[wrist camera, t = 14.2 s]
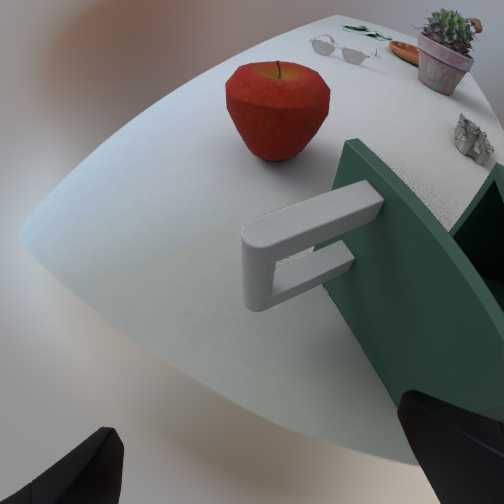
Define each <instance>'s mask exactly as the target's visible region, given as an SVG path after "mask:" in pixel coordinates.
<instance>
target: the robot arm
mask: <svg viewBox="0 0 504 504" xmlns="http://www.w3.org/2000/svg"><path fill="white" fill-rule="evenodd" d="M397 415H398V418H399V420H400V423H401V425H402V427H403V430H404V432H405V435H406V437H407V440H408V442H409V445H410V447H411V449H412V451H413V453H414V455H415V457H416V459H417V461H418V462H419V464H420V466H421V468H422V470H423V471H424V473H425V475H426V477H427V479H428V481H429V482H430V484H431V486H432V488H433V490H434V492H435V494H436V496H437V497H438V499H439V501H440V503H441V504H504V423H503V422H500V421H497V420H494V419H491V418H488V417H485V416H483V415H480V414H477V413H474V412H471V411H469V410H466V409H463V408H461V407H458V406H455V405H453V404H450V403H448V402H445V401H443V400H440V399H438V398H435V397H433V396H430V395H428V394H425V393H423V392H420V391H418V390H415V389H412V390H409V391H406V392H404V393H403V394H402V395H401V399H400V402H399V406H398V409H397ZM123 457H124V446H123V443H122V441H121V439H120V437H119V436H118V434H117V432H116V430H115V429H114V428H110V427H101V428H99V429H98V430H97V431H96V432H95V433H93V434H92V435H91V436H89V437H88V438H87V439H86V440H84V441H83V442H82V443H81V444H80V445H78V446H77V447H76V448H75V449H73V450H72V451H71V452H69V453H68V454H67V455H66V456H64V457H63V458H62V459H60V460H59V461H58V462H56V463H55V464H54V465H53V466H51V467H50V468H49V469H47V470H46V471H45V472H43V473H42V474H41V475H39V476H38V477H37V478H36V479H34V480H33V481H32V482H31V483H29V484H27V485H26V486H24V487H23V488H22V489H20V490H19V491H17V492H16V493H15V494H13V495H11V496H9V497H8V498H6V499H4V500H2V501H1V502H0V504H118V503H119V497H120V492H121V484H122V470H123Z"/></svg>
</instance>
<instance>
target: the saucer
mask: <svg viewBox="0 0 504 504" xmlns="http://www.w3.org/2000/svg"><path fill="white" fill-rule="evenodd" d="M389 48H390V49H392V50H393V52H394V53H395V54H396V55H398V56H399V57H401V58H402V59H404V60H406V61H408V62H410V63H412V64H415V65H417V66H419V48H418V47H415V46H413V45H409V44H406V43H402V42H398V41H390V43H389Z"/></svg>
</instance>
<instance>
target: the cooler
mask: <svg viewBox="0 0 504 504" xmlns="http://www.w3.org/2000/svg"><path fill="white" fill-rule="evenodd" d="M449 234H450V236H451V237H452V238H453V239H454V241H455V242H456V243H457V245H458V246H459V247H460V249H461V250H462V251H463V253H464V254H465V255H466V257H467V258H468V259H469V261H470V262H471V264H472V265H473V266H474V268H475V269H476V271H477V272H478V274H479V275H480V277H481V278H482V280H483V281H484V283H485V284H486V286H487V287H488V289H489V290H490V292H491V294H492V295H493V297H494V298H495V300H496V302H497V303H498V305H499V307H500V308H501V310H502V312H503V314H504V166H502V165H501V164H499V163H497V162H496V164H495V166H494V167H493V169H492V170H491V172H490V174H489V176H488V177H487V179H486V180H485V182H484V183H483V185H482V186H481V188H480V190H479V191H478V193H477V194H476V195H475V197H474V198H473V200H472V201H471V203H470V204H469V206H468V207H467V208H466V210H465V211H464V213H463V214H462V215H461V217H460V218H459V219H458V221H457V222H456V223H455V225H454V226H453V227H452V229H451V230H450V231H449ZM474 413H477V414H480V415H483V416H485V417H488V418H491V419H494V420H497V421H500V422H504V404H503V405H500V406H496V407H492V408H488V409H484V410H479V411H475V412H474Z"/></svg>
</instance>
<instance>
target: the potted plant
mask: <svg viewBox="0 0 504 504" xmlns="http://www.w3.org/2000/svg"><path fill="white" fill-rule="evenodd" d="M432 15H433V17H428V18H427V19H428V20H429V22H430V23H429V24H428V25H429V26H428V27H424V28H423V29H425V30H424V33H422V32H420V33H419V36H418V43H417V46H418V47H419V71H418V79H419V81H421V82H422V83H423V84H424V85H426V86H428V87H429V88H431V89H433V90H435V91H437V92H439V93H441V94H444V95H450V94H451V93H452V92H453V90H454V89H455V88H456V86H457V85H458V84H459V82H460V81H461V79H462V78H463V77H464V75H465V74H466V72H469V71H470V69H471V67H472V65H473V63H474V60H473V58H472V57H471V56H470V55H468V54H467V53H468V52H469V50H468V49H466V48H471V47H472V46H471V44H470V42H469V41H471V40H473V37H472V36H471V35H473V34H474V33H472V32H471V31H470V25H469V24H467V22H468V21H467V19H463V18H461V16H460V15H459V14H457V11H456V13H455V12H453V11H452V10H450V11H448V12H447V11H445V10H444V9H443V8H442V10H440V12H436V13H435V12H433V13H432ZM468 20H469V19H468ZM470 21H471V26H474V27H475V29H476V32H475V33H481V31H482V26H481V23H480V21H479V20H478V19H476V18H474V19H473V20H472V19H471V18H470ZM473 21H474V22H473ZM468 23H469V22H468ZM473 36H474V35H473ZM474 37H475V36H474ZM476 39H477V38H476ZM471 49H472V48H471Z"/></svg>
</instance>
